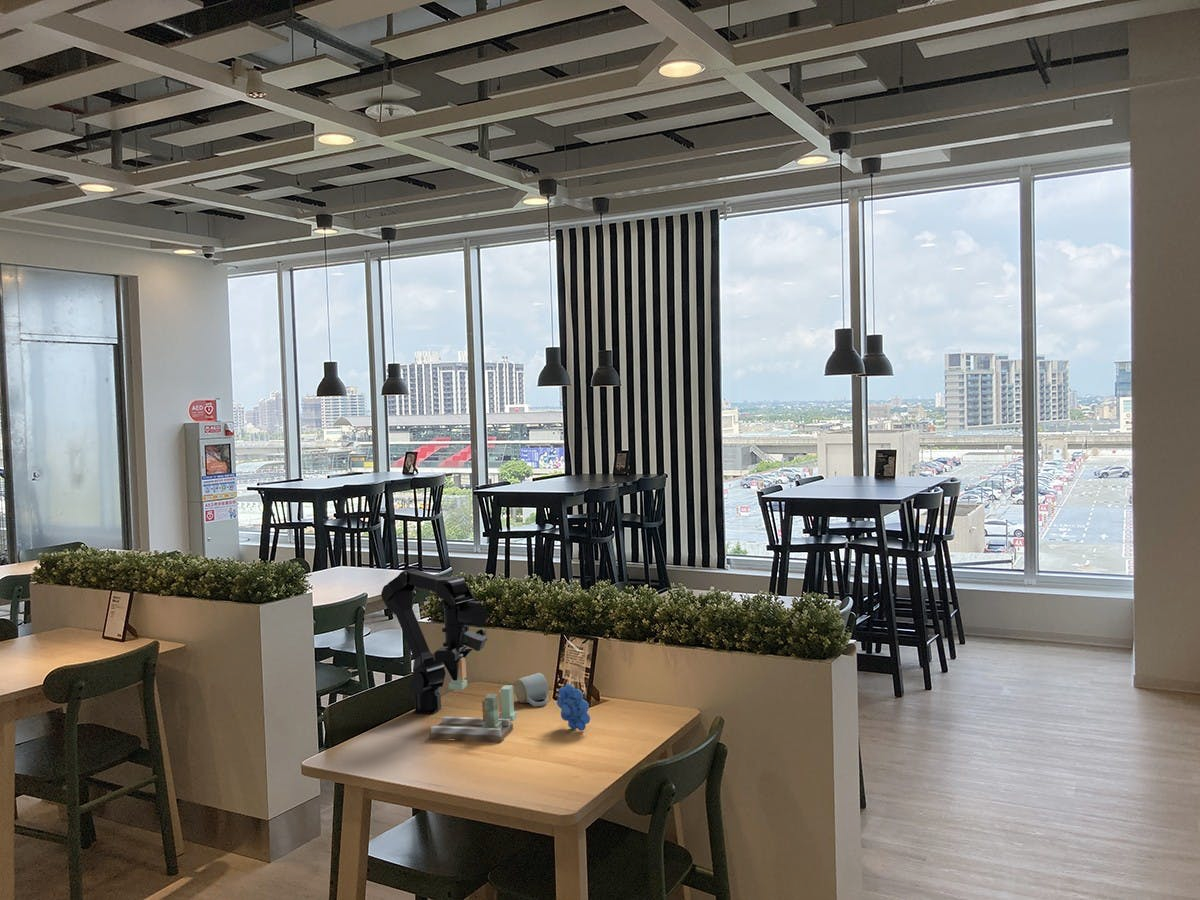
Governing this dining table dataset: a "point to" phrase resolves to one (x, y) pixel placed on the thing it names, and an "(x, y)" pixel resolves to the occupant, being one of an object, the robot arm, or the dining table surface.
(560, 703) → the grapes
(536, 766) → the dining table surface
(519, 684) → the ceramic mug
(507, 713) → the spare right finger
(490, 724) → the rail board
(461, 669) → the stepped sage green block
